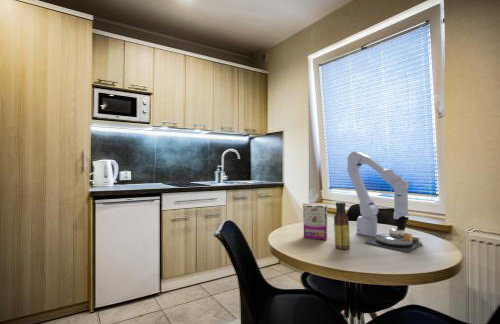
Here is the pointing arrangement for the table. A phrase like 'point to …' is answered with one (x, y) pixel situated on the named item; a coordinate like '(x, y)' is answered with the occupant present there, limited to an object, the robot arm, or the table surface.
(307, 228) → the candy bar box
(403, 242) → the turntable
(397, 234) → the cover
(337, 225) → the sauce bottle
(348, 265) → the table surface
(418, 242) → the base plate
